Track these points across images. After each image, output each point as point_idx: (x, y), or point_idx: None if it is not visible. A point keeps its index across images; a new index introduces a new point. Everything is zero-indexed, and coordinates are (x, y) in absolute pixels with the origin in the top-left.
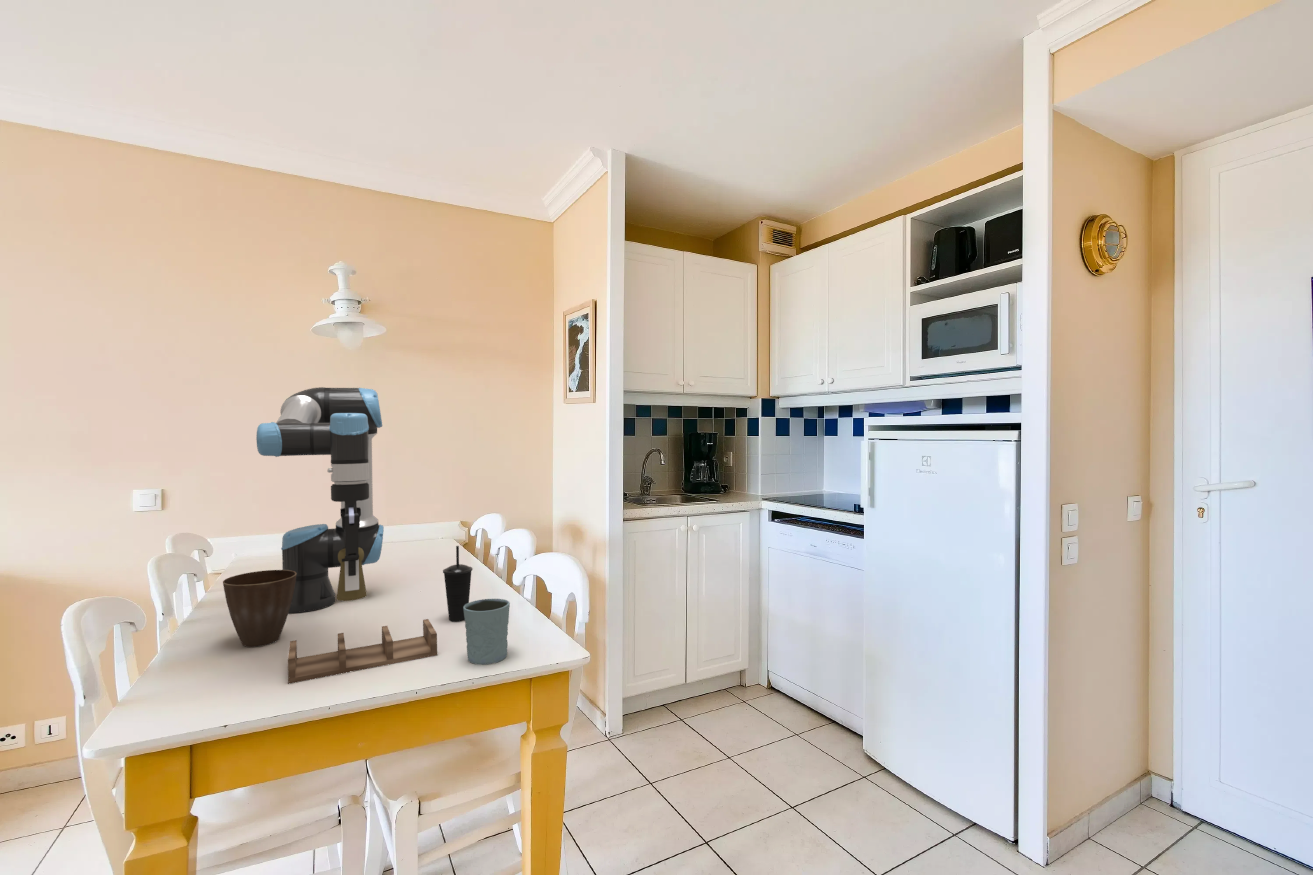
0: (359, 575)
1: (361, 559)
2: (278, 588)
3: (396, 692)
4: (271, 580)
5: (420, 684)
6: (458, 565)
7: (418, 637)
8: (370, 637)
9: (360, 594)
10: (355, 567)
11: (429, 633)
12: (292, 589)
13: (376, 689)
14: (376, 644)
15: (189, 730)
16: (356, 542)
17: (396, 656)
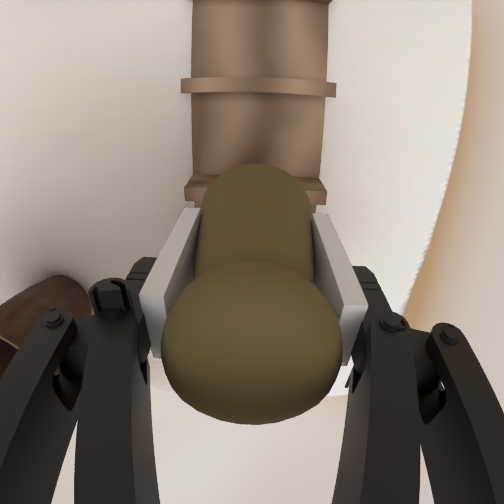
0: (302, 236)
1: (305, 278)
2: None
3: (460, 120)
4: None
5: (454, 78)
6: None
7: (198, 11)
8: (108, 117)
9: (304, 196)
10: (383, 295)
11: None
12: (17, 318)
13: (431, 143)
14: (193, 104)
15: None
16: (497, 421)
17: (312, 73)
